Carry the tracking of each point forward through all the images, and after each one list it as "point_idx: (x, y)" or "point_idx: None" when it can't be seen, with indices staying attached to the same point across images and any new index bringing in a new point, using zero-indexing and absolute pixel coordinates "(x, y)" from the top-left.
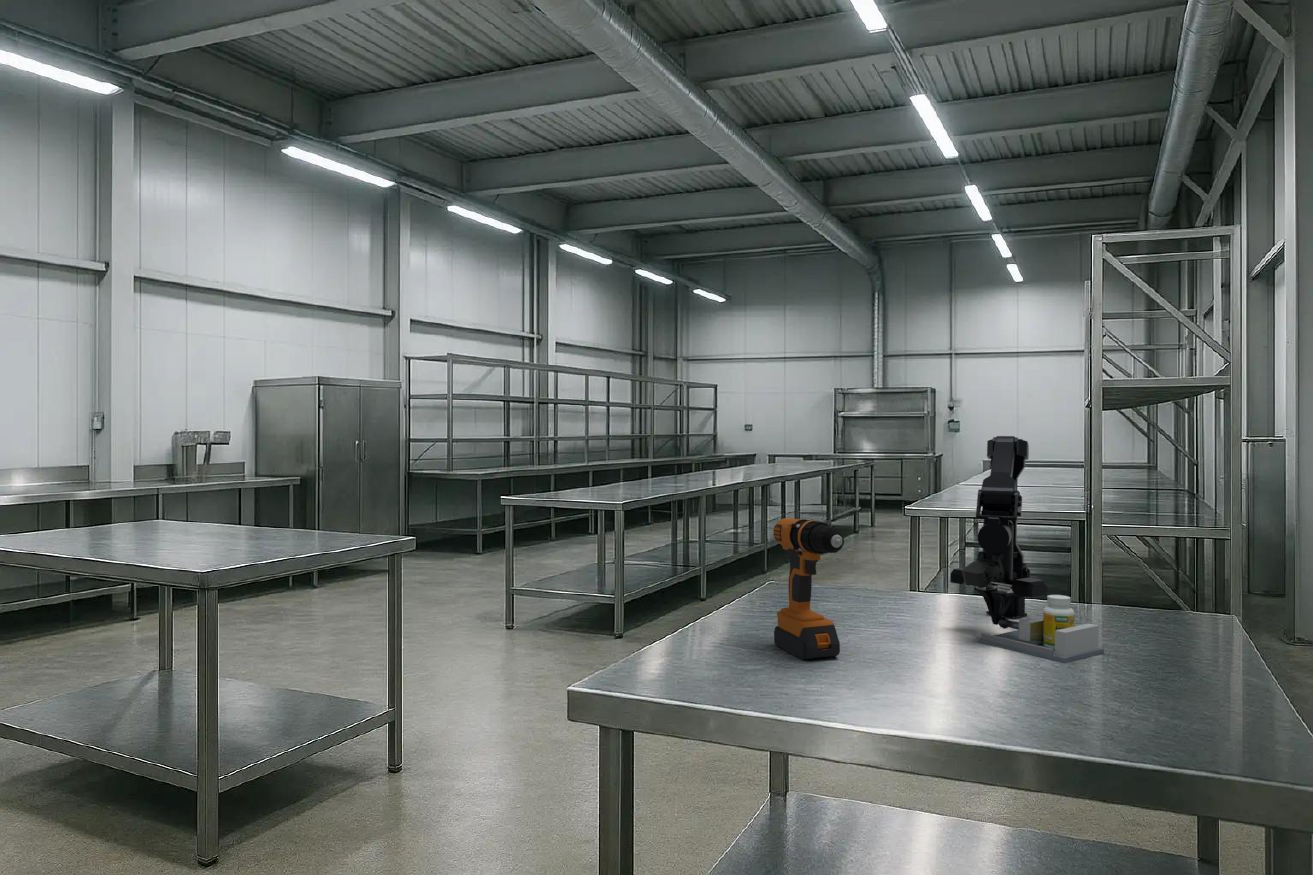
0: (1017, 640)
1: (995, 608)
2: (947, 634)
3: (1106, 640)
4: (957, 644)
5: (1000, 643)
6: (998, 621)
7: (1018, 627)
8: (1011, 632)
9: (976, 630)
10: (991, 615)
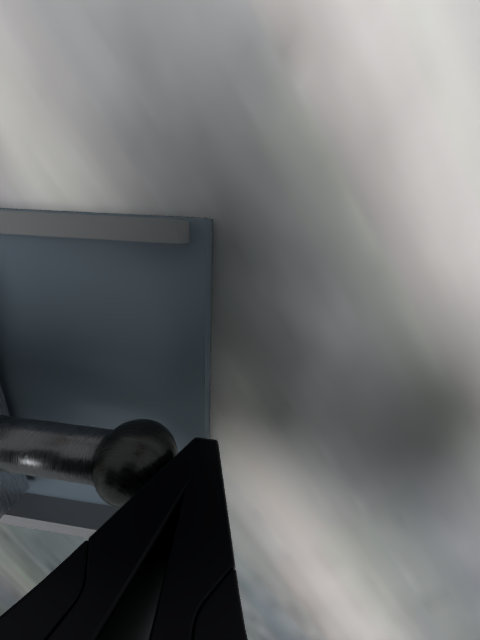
0: (63, 356)
1: (115, 554)
2: (466, 249)
3: (12, 596)
4: (259, 15)
5: (46, 210)
6: (163, 451)
7: (19, 421)
8: None
9: (374, 461)
10: (208, 485)
